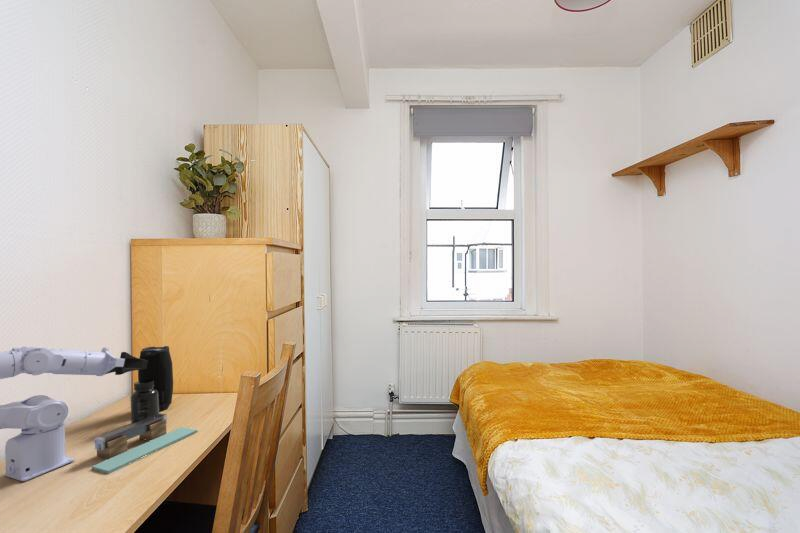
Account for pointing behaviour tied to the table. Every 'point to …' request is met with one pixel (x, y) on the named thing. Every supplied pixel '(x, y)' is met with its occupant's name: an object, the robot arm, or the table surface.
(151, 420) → the rail
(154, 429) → the cradle right
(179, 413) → the table surface
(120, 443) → the cradle left
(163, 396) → the portable speaker
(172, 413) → the table surface
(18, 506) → the table surface
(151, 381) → the supplement bottle
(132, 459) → the mat
